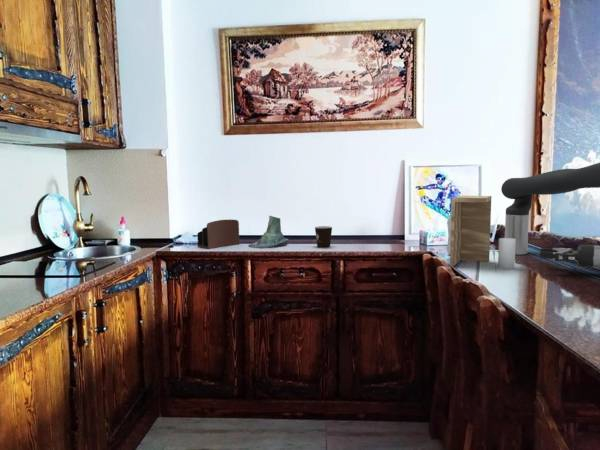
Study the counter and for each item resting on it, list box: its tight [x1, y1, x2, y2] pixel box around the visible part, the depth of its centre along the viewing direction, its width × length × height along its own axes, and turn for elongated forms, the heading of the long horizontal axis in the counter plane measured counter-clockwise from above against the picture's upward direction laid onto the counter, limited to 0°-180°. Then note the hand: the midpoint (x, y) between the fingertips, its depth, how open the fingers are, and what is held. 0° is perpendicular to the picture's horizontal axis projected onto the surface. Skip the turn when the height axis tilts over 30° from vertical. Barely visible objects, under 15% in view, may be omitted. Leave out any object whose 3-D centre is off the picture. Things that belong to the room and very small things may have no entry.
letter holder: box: [196, 219, 241, 250], centre depth 225 cm, size 10×20×14 cm, turn 136°
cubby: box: [449, 195, 492, 268], centre depth 168 cm, size 17×12×26 cm
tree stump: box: [248, 215, 289, 249], centre depth 225 cm, size 18×20×18 cm
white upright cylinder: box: [497, 237, 516, 271], centre depth 162 cm, size 6×6×11 cm
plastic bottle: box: [446, 215, 451, 256], centre depth 187 cm, size 6×7×20 cm
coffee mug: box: [314, 225, 333, 249], centre depth 218 cm, size 12×9×10 cm
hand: (540, 252), depth 156 cm, fingers open, 8 cm apart
